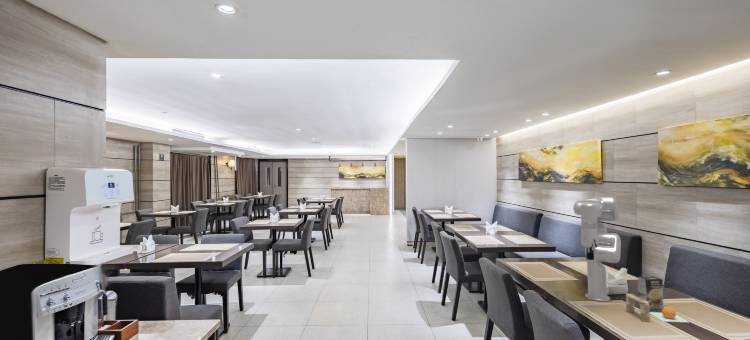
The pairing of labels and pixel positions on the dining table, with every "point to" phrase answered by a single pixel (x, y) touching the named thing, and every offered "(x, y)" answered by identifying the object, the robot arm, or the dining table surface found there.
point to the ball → (668, 313)
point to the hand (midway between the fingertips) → (590, 259)
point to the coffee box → (651, 291)
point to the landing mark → (662, 318)
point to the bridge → (643, 306)
